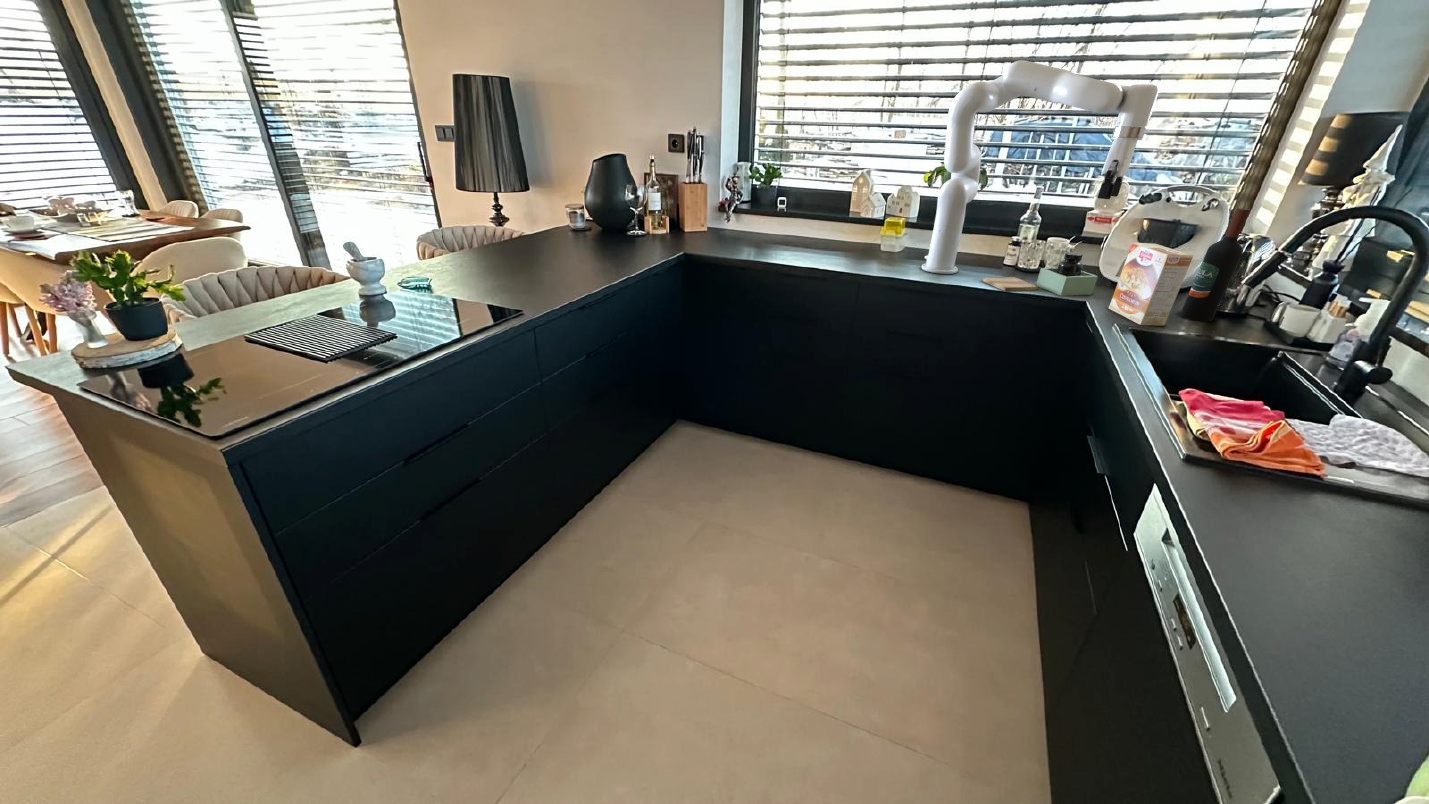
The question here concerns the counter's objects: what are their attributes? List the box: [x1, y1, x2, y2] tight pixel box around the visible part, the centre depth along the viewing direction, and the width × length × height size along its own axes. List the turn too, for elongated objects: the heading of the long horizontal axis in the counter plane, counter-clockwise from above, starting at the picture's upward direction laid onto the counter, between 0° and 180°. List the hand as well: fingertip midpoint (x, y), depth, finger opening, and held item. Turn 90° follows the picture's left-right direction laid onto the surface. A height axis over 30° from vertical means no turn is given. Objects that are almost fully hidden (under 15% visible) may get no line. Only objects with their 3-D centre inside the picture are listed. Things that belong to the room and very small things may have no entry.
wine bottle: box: [1179, 207, 1251, 323], centre depth 154 cm, size 8×8×30 cm
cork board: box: [982, 276, 1039, 292], centre depth 187 cm, size 12×12×1 cm
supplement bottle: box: [1056, 251, 1084, 277], centre depth 181 cm, size 7×7×12 cm
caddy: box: [1035, 267, 1099, 297], centre depth 182 cm, size 12×12×6 cm
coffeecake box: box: [1108, 242, 1194, 327], centre depth 155 cm, size 15×7×20 cm, turn 178°
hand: (1107, 197), depth 166 cm, fingers open, 9 cm apart
